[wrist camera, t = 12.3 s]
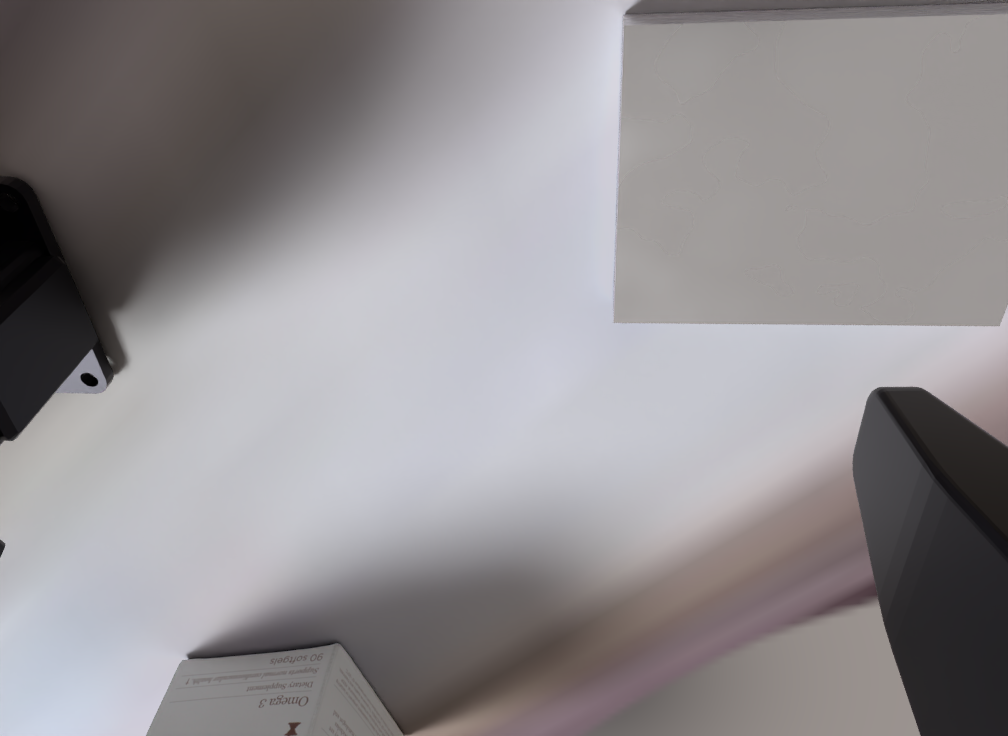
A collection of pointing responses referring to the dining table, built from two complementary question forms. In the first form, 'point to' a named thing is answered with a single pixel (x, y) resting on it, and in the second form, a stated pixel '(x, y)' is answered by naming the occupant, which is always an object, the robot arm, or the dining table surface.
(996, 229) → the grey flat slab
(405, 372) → the dining table surface
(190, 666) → the supplement box
